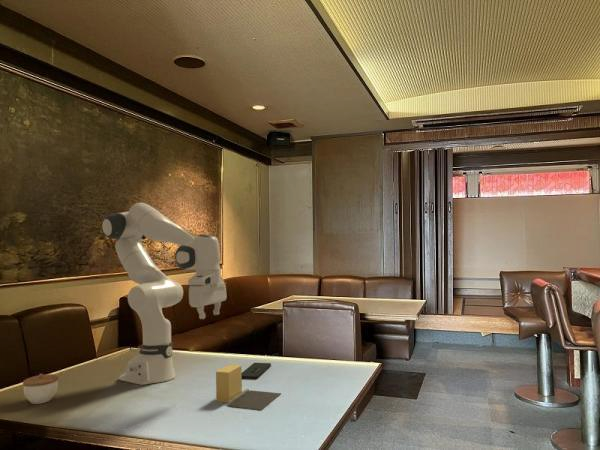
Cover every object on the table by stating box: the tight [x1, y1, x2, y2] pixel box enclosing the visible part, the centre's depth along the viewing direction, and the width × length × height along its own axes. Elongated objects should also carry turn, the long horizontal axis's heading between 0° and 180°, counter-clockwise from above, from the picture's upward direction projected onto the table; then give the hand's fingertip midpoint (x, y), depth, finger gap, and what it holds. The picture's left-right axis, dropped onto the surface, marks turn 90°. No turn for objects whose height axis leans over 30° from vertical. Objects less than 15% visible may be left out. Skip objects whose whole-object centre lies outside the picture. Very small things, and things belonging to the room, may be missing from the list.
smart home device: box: [241, 362, 272, 380], centre depth 184 cm, size 8×2×20 cm
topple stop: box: [226, 388, 282, 411], centre depth 150 cm, size 13×16×1 cm
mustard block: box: [215, 364, 243, 403], centre depth 154 cm, size 5×9×10 cm, turn 160°
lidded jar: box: [22, 373, 59, 405], centre depth 155 cm, size 11×11×9 cm
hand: (209, 316), depth 160 cm, fingers open, 8 cm apart
